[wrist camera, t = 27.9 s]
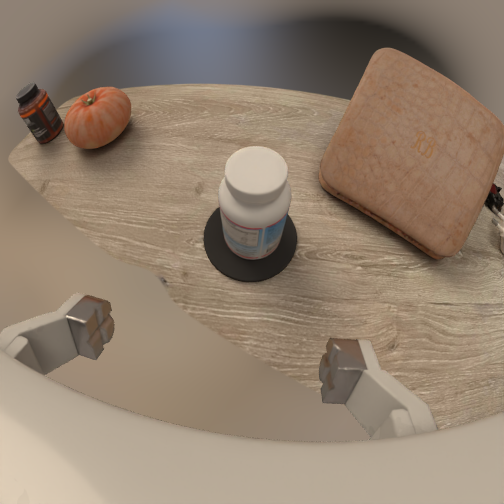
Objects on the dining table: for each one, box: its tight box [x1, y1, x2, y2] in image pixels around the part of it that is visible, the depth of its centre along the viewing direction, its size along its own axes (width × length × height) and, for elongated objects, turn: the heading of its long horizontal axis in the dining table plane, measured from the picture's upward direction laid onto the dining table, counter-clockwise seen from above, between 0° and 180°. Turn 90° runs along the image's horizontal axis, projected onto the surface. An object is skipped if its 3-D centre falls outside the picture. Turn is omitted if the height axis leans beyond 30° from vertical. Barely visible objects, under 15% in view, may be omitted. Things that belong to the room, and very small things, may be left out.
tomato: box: [64, 87, 131, 149], centre depth 33 cm, size 11×11×8 cm
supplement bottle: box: [16, 83, 63, 143], centre depth 32 cm, size 6×6×11 cm
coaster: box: [204, 207, 297, 282], centre depth 30 cm, size 10×10×1 cm
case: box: [319, 48, 504, 259], centre depth 28 cm, size 20×21×16 cm
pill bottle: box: [218, 146, 291, 260], centre depth 25 cm, size 6×6×11 cm
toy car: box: [484, 183, 504, 212], centre depth 34 cm, size 6×12×4 cm, turn 67°
